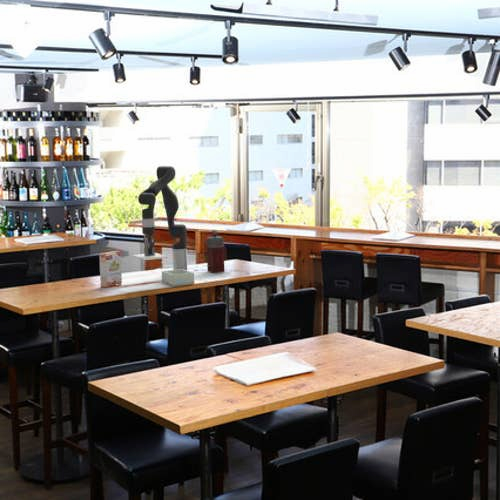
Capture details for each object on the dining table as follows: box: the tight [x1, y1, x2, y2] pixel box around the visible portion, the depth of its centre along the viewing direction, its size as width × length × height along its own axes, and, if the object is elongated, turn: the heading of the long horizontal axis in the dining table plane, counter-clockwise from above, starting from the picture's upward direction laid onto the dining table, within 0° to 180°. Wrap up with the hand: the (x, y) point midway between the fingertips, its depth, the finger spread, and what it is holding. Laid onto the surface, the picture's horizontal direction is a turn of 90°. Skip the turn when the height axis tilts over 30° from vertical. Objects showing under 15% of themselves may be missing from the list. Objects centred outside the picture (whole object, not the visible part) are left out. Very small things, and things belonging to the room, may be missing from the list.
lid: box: [132, 246, 168, 261], centre depth 518 cm, size 19×15×6 cm
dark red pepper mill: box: [206, 229, 228, 274], centre depth 568 cm, size 9×11×28 cm
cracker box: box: [98, 250, 123, 288], centre depth 527 cm, size 14×6×21 cm, turn 148°
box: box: [161, 269, 195, 287], centre depth 529 cm, size 18×14×7 cm
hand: (149, 254), depth 519 cm, fingers closed on lid
